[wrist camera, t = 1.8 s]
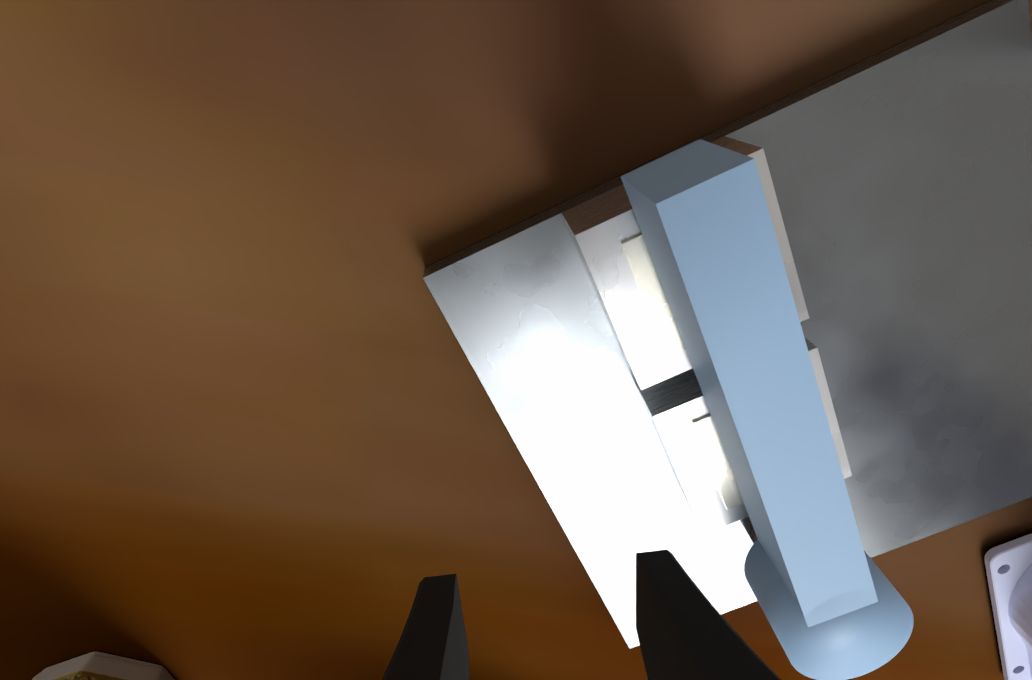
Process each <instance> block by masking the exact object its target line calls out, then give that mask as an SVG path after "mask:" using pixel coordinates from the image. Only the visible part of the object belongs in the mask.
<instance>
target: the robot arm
mask: <svg viewBox="0 0 1032 680" xmlns="http://www.w3.org/2000/svg"><path fill="white" fill-rule="evenodd" d="M984 560H985V566H986V572H987V578H988V585H989V591H990V597H991V603H992V609H993V615H994V621H995V627H996V633H997V639H998V645H999V651H1000V657H1001V663H1002V669H1003V675H1004V680H1032V533H1031V534H1028V535H1025V536H1023V537H1020V538H1017V539H1015V540H1012V541H1009V542H1007V543H1004V544H1001V545H998V546H996V547H993V548H991V549H990V550H989V551H988V552H987V553H986V554H985V559H984ZM636 630H637V635H638V639H639V643H640V647H641V652H642V656H643V660H644V664H645V668H646V672H647V676H648V680H781V679H780V678H779V677H778V676H777V675H776V674H775V673H774V672H773V671H772V670H771V669H770V668H769V667H768V666H767V665H766V664H765V663H764V662H763V661H762V660H761V659H760V658H759V657H758V656H757V655H756V654H755V653H754V651H753V650H752V649H751V648H750V647H749V646H748V645H747V644H746V643H745V642H744V641H743V639H742V638H741V637H740V636H739V635H738V634H737V633H736V632H735V631H734V629H733V628H732V627H731V626H730V625H729V624H728V623H727V622H726V620H725V619H724V618H723V617H722V616H721V615H720V614H719V612H718V611H717V610H716V609H715V608H714V606H713V605H712V604H711V603H710V602H709V600H708V599H707V598H706V597H705V596H704V594H703V593H702V592H701V591H700V589H699V588H698V587H697V586H696V584H695V583H694V582H693V581H692V579H691V578H690V577H689V575H688V574H687V573H686V571H685V570H684V569H683V567H682V566H681V565H680V563H679V562H678V561H677V559H676V558H675V557H674V555H673V554H672V553H671V552H670V551H668V550H658V551H650V552H641V553H636ZM382 680H469V658H468V644H467V638H466V632H465V626H464V620H463V614H462V607H461V601H460V595H459V589H458V583H457V577H456V574H451V575H442V576H434V577H425V578H424V579H423V580H422V581H421V582H420V583H419V587H418V590H417V594H416V597H415V600H414V603H413V606H412V609H411V612H410V614H409V617H408V620H407V622H406V625H405V628H404V630H403V633H402V635H401V638H400V640H399V643H398V645H397V647H396V650H395V652H394V654H393V656H392V659H391V661H390V663H389V665H388V668H387V670H386V672H385V674H384V677H383V679H382Z"/></svg>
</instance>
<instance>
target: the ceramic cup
mask: <svg viewBox="0 0 1032 680" xmlns="http://www.w3.org/2000/svg"><path fill="white" fill-rule="evenodd" d="M32 680H175V679H174V678H173V677H172V676H171V675H170V674H169V672H168V671H167V670H166V669H165V668H164V667H162V666H160V665H156V664H152V663H147V662H143V661H139V660H134V659H130V658H125V657H120V656H116V655H111V654H107V653H102V652H97V651H96V652H91V653H88V654H85V655H82V656H79V657H76V658H73V659H70V660H67V661H65V662H62V663H59V664H56V665H53V666H50V667H47V668H45V669H44V670H43V671H42V672H40V673H39V674H37V675H36V676H35V677H34V678H33V679H32Z"/></svg>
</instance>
